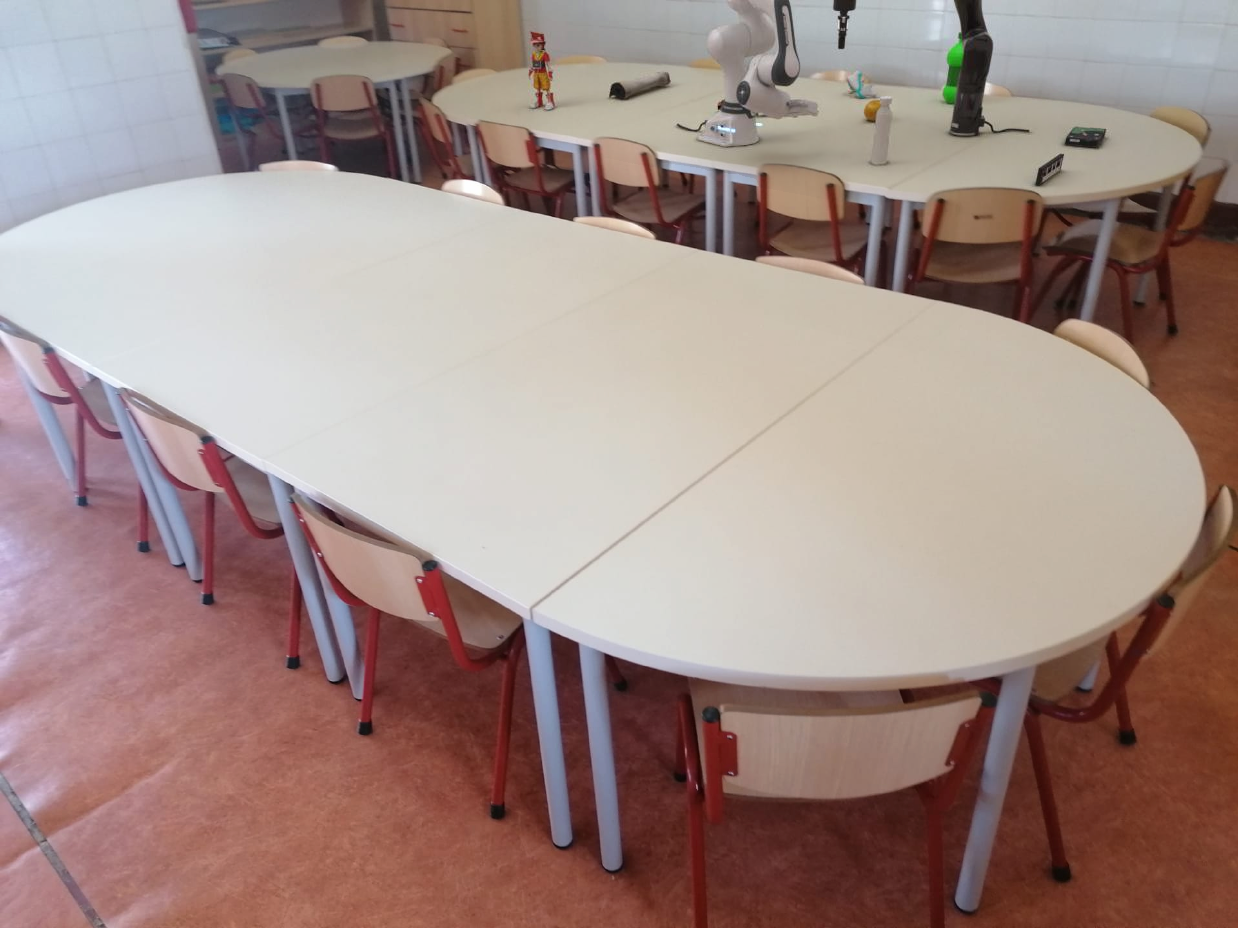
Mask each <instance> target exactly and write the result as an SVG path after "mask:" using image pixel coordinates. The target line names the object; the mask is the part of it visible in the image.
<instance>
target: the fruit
mask: <svg viewBox="0 0 1238 928" xmlns="http://www.w3.org/2000/svg"><path fill="white" fill-rule="evenodd" d="M880 107H881V104H880V99H874V100H870V101H869V102H867V103H866V105H865V106H864V110H863V115H864V117H865V119H867V120H868V121H871V122H876V114H877V111H878V110H879V108H880Z"/></svg>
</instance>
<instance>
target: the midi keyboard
mask: <svg viewBox="0 0 1238 928" xmlns="http://www.w3.org/2000/svg"><path fill="white" fill-rule="evenodd" d="M1064 157H1065V153H1059V154H1058V155H1056V156H1055V157H1052V159H1051V160H1049V161H1047V162H1045V164H1042V165H1041V166H1039V167H1038V169H1037V175H1036V179H1035V186H1040V185H1042V183H1044V182H1045V181H1047V180H1048V179H1049V178H1051V177H1052V176H1054V175H1055V174H1056V173H1058V172H1060V171H1061V170H1062V165H1063V161H1064Z"/></svg>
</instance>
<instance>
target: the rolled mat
mask: <svg viewBox="0 0 1238 928" xmlns="http://www.w3.org/2000/svg"><path fill="white" fill-rule="evenodd" d="M671 83H672V81H671V77H670V74H669V72H668V71H658V72H654V73H649V74H645V75H640V76H637V77H633V78H628V79H623V80H620V81H616V82H613V83H612V84H611V85H610V89H609V95H608V97H609V98H611V97H616V99H620V100H622V101H623V100H626V99H627V98H629V97H630V96H632V95H635V94H636V93H638V92H640V91H643V90H644V89H647V88H650V87H655V86H658V87H659V86H661V87H665V86H669V85H670V84H671Z"/></svg>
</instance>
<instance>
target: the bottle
mask: <svg viewBox="0 0 1238 928" xmlns="http://www.w3.org/2000/svg"><path fill="white" fill-rule="evenodd" d="M892 117H893V111H892V109H891V107H890V104H889V105H882V104H881V107H880V108H879V110H878V111H877V114H876V121H875V123H874V134H873V141H872V142H873V144H872V150H871V151H872V152H871V160H870V161H871V164H873V165H875V166H882V165H886V164H887V161H888V151H889V144H890V135H891V128H892V127H891V126H892V120H893V119H892Z"/></svg>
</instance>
